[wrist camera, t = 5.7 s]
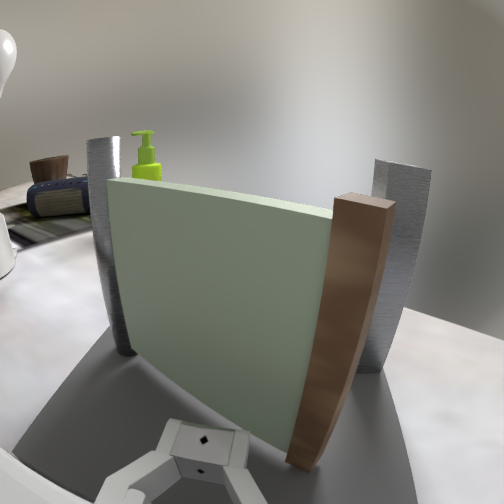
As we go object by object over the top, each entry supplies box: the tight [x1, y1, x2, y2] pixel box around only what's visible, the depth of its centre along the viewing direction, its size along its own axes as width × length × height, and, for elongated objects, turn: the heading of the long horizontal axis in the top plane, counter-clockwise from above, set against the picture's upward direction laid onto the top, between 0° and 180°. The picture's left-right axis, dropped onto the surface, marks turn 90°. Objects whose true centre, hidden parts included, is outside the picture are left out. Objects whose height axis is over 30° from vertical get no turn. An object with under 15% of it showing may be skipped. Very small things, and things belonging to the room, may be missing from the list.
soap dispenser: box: [131, 130, 161, 181], centre depth 55 cm, size 6×7×20 cm
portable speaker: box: [27, 176, 91, 217], centre depth 69 cm, size 25×10×10 cm, turn 103°
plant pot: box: [30, 155, 68, 184], centre depth 82 cm, size 15×15×16 cm
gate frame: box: [12, 137, 432, 504], centre depth 16 cm, size 25×20×18 cm
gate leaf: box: [107, 177, 396, 474], centre depth 15 cm, size 16×2×14 cm, turn 53°
